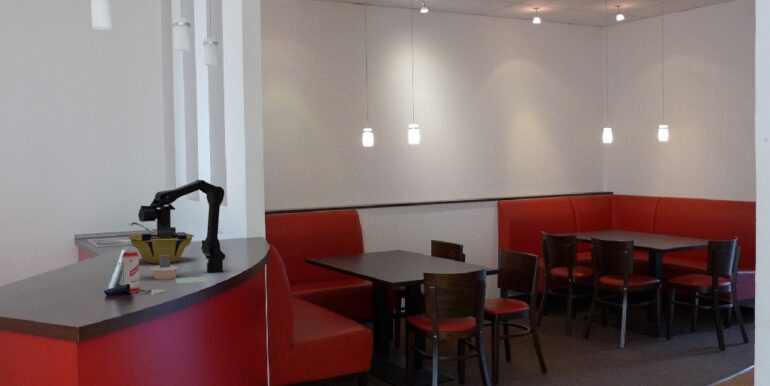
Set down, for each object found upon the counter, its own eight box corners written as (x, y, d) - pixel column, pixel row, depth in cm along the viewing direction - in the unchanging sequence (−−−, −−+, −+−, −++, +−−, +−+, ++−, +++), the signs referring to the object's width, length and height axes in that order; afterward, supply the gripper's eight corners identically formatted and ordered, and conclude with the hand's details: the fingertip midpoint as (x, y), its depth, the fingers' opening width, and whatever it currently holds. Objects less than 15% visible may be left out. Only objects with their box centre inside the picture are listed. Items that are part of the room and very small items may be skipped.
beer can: (142, 291, 286) (142, 251, 285) (132, 294, 280) (131, 252, 279) (129, 290, 288) (129, 250, 287) (119, 293, 282) (118, 252, 281)
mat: (204, 278, 318) (204, 276, 318) (209, 282, 306) (209, 281, 306) (174, 279, 313) (174, 278, 313) (177, 284, 301) (177, 283, 301)
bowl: (174, 276, 322) (174, 266, 322) (176, 279, 313) (176, 269, 313) (153, 277, 319) (153, 267, 318) (154, 281, 310) (154, 270, 310)
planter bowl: (207, 260, 374) (207, 234, 374) (157, 268, 347) (157, 240, 346) (165, 256, 391) (164, 231, 391) (114, 263, 364) (114, 236, 364)
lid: (177, 265, 324) (177, 253, 323) (180, 269, 312) (180, 256, 312) (149, 267, 319) (149, 254, 319) (151, 271, 308) (151, 257, 308)
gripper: (142, 222, 304) (142, 259, 305) (188, 221, 311) (188, 257, 311) (140, 220, 314) (141, 256, 315) (185, 219, 321) (185, 254, 322)
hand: (164, 256), depth 316 cm, fingers open, 9 cm apart
